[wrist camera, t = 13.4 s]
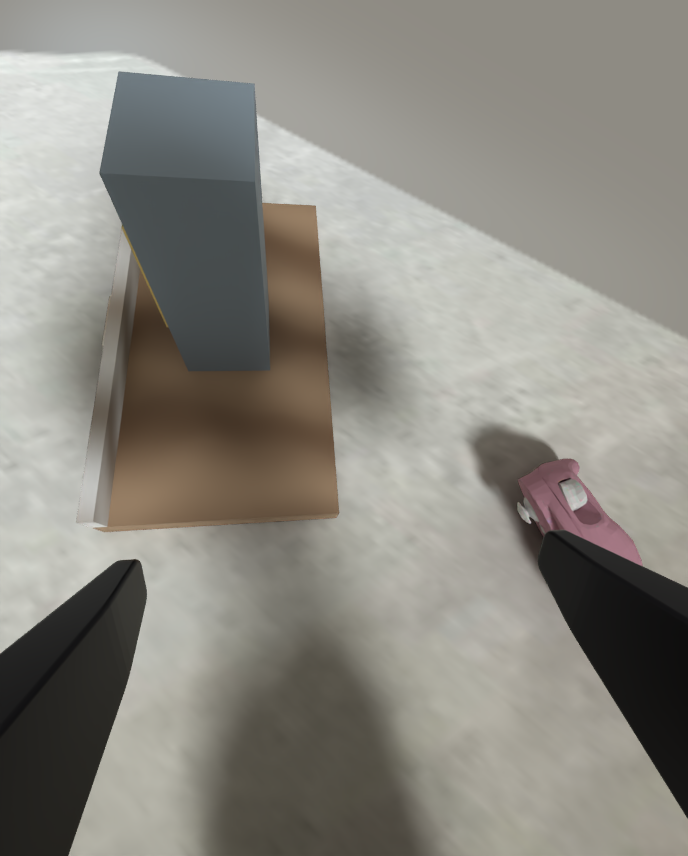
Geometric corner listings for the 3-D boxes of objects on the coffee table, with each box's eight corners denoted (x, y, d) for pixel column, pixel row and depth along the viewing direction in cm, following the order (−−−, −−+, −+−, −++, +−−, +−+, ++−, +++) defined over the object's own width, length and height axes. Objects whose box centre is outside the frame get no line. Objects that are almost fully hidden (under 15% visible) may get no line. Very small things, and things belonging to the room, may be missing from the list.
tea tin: (268, 300, 26) (254, 83, 15) (270, 370, 24) (254, 181, 13) (187, 299, 25) (109, 70, 14) (182, 371, 23) (88, 172, 12)
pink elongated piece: (497, 486, 27) (504, 478, 20) (565, 454, 26) (597, 435, 19) (583, 642, 24) (626, 693, 17) (664, 613, 23) (741, 655, 16)
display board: (335, 517, 23) (342, 507, 20) (100, 532, 21) (71, 522, 18) (314, 223, 31) (317, 185, 28) (142, 215, 29) (126, 174, 26)
